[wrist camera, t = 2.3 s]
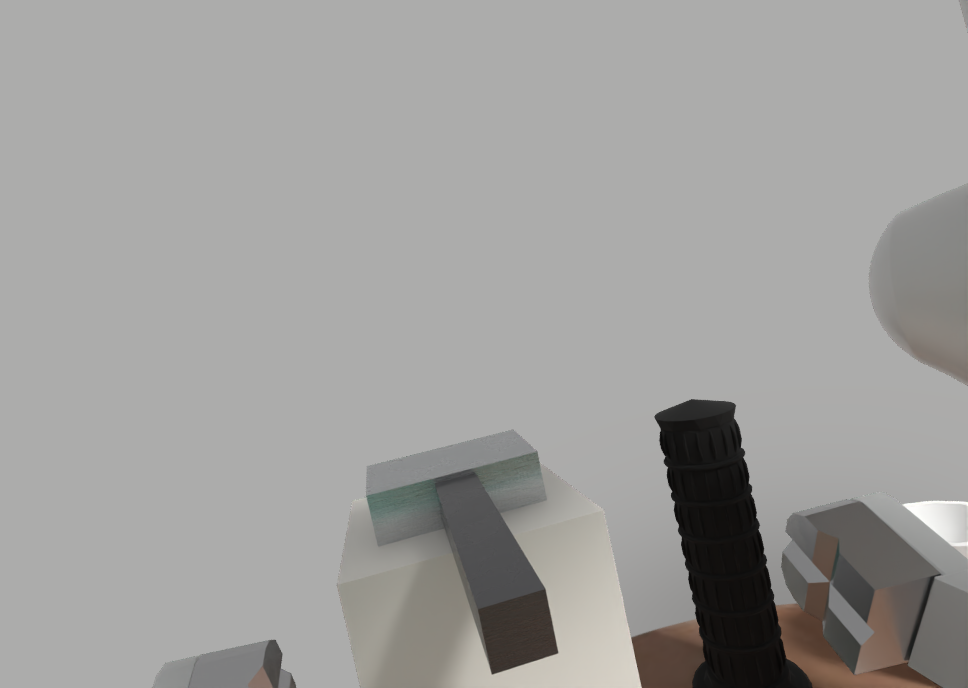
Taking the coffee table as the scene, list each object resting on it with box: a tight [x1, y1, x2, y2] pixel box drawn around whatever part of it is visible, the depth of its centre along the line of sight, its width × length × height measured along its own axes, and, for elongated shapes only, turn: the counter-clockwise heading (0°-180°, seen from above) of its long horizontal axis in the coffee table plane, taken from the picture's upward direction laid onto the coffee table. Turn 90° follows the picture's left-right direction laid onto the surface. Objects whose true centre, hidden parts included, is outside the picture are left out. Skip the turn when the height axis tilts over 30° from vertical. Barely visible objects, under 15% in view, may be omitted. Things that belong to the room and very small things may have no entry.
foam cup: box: [903, 501, 968, 559], centre depth 49 cm, size 10×9×13 cm
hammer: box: [366, 430, 558, 675], centre depth 30 cm, size 10×20×3 cm, turn 10°
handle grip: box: [655, 399, 812, 688], centre depth 53 cm, size 10×26×10 cm
